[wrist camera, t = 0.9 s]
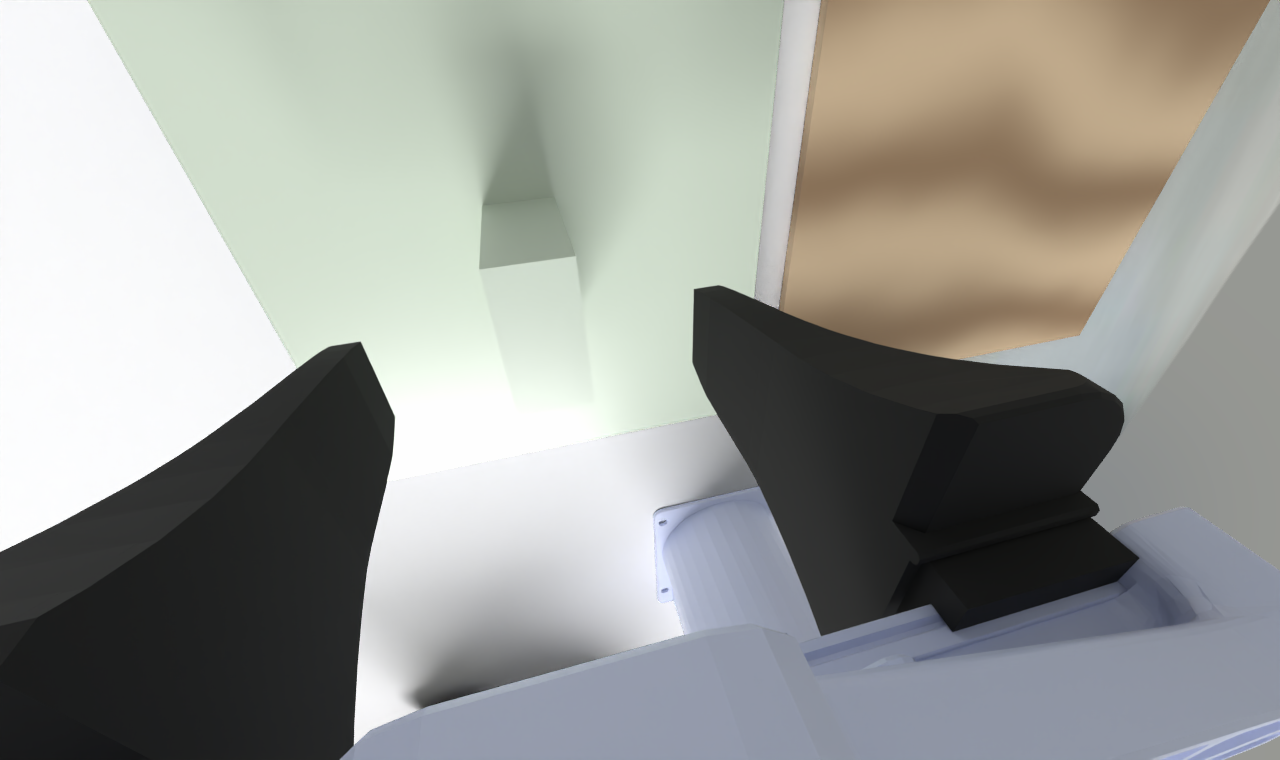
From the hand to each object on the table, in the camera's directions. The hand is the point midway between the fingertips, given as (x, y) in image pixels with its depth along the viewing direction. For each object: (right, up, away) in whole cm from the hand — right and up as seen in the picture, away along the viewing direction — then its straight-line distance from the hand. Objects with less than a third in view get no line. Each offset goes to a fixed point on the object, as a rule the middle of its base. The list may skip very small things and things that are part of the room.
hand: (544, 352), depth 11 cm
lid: (-1, +3, +4) cm, 6 cm away
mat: (+17, +8, +9) cm, 20 cm away
